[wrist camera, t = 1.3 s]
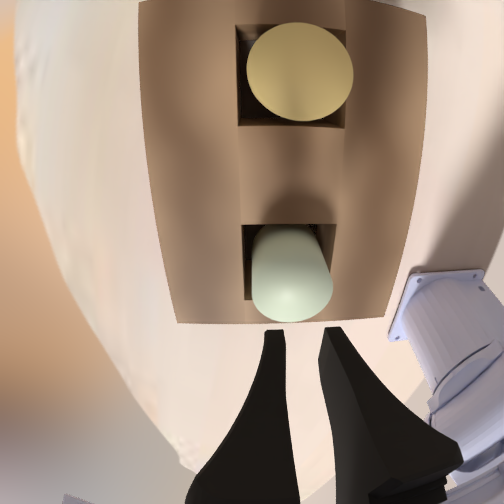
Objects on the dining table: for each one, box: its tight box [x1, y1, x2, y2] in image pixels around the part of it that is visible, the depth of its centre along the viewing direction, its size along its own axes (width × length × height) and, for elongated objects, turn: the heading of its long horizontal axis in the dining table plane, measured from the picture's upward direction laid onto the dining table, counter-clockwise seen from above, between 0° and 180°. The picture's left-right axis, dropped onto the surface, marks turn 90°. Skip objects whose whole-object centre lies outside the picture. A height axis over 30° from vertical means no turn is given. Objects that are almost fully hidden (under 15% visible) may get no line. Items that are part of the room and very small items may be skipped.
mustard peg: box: [247, 22, 353, 121], centre depth 11 cm, size 4×4×4 cm
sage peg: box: [252, 224, 333, 322], centre depth 16 cm, size 4×4×4 cm
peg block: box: [138, 0, 428, 324], centre depth 16 cm, size 14×19×4 cm
